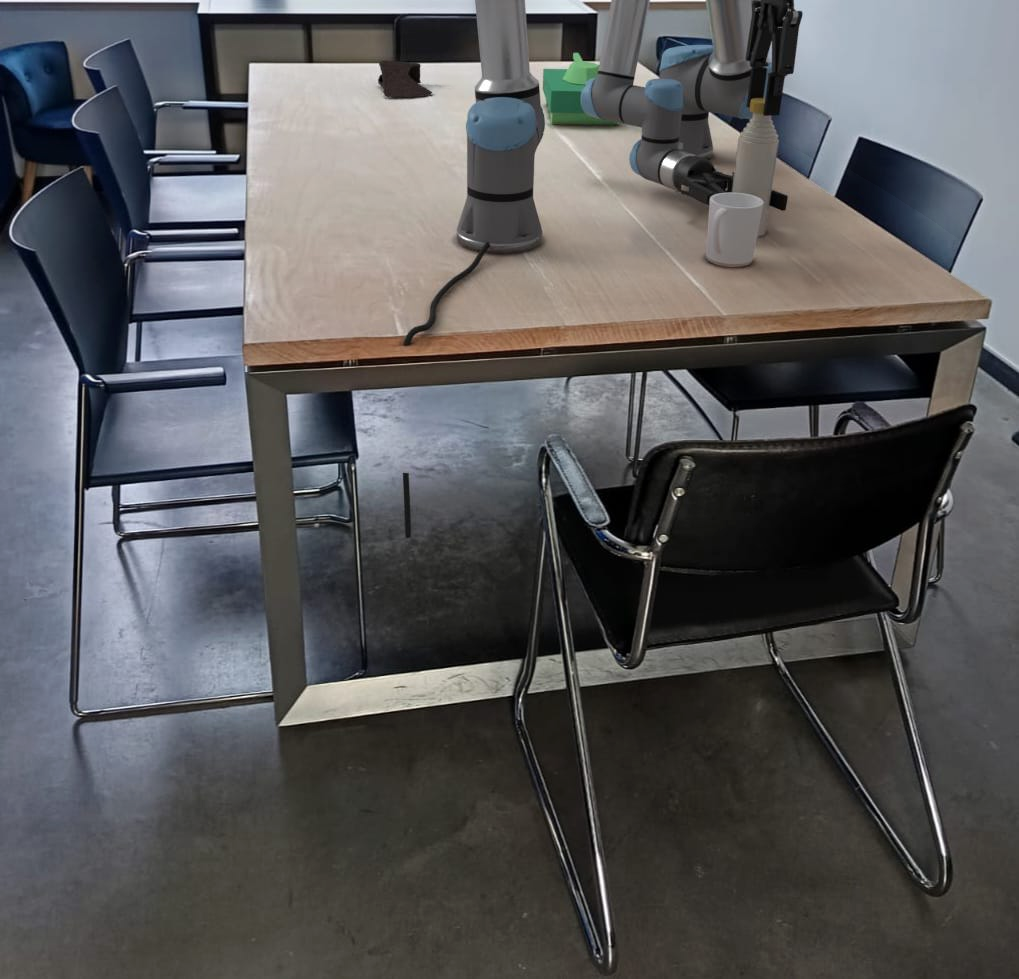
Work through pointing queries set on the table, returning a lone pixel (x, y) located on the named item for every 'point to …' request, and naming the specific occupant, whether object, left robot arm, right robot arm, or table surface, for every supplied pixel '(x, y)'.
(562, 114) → the toy tank
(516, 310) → the table surface
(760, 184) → the bottle
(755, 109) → the cap
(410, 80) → the axe head
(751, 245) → the mug
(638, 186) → the table surface
